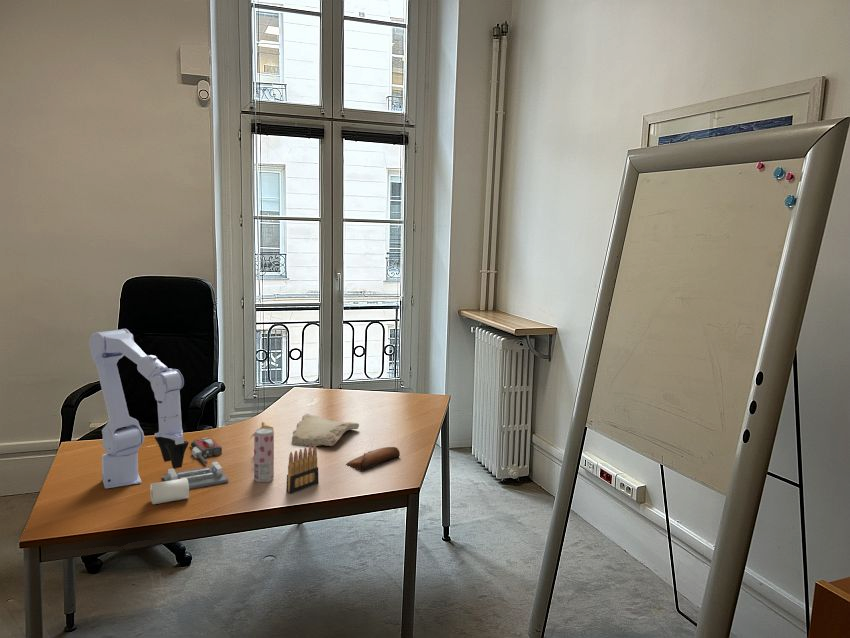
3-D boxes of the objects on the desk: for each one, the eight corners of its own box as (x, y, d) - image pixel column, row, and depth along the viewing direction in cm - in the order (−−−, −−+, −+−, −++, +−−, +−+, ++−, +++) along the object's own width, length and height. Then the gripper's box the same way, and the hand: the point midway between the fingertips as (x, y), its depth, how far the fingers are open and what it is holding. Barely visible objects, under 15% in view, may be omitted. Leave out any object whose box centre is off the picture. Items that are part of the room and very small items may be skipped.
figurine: (268, 451, 211) (268, 417, 210) (277, 456, 207) (278, 421, 206) (245, 457, 206) (245, 421, 204) (255, 462, 201) (255, 426, 200)
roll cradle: (170, 492, 177) (170, 480, 176) (162, 477, 187) (162, 466, 186) (228, 482, 185) (228, 471, 185) (217, 468, 195) (217, 457, 195)
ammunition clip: (290, 494, 179) (290, 453, 177) (286, 492, 180) (286, 451, 178) (318, 483, 187) (319, 444, 186) (314, 481, 188) (315, 442, 187)
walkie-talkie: (184, 448, 213) (202, 467, 197) (184, 435, 212) (202, 454, 196) (210, 444, 218) (230, 462, 202) (210, 431, 217) (230, 449, 201)
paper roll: (153, 508, 167) (153, 488, 166) (150, 499, 172) (150, 480, 171) (189, 501, 172) (189, 482, 171) (185, 493, 177) (185, 474, 176)
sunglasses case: (381, 450, 216) (389, 437, 213) (394, 465, 213) (402, 451, 210) (343, 465, 202) (351, 450, 199) (356, 480, 199) (365, 466, 196)
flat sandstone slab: (282, 446, 221) (334, 448, 215) (280, 425, 220) (333, 427, 214) (314, 428, 244) (362, 430, 238) (313, 409, 243) (361, 410, 237)
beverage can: (276, 475, 191) (276, 428, 189) (270, 483, 186) (270, 434, 184) (257, 474, 192) (257, 427, 190) (251, 482, 186) (251, 433, 184)
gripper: (146, 413, 173) (149, 461, 175) (162, 423, 162) (166, 474, 163) (172, 408, 178) (175, 455, 179) (190, 418, 166) (193, 468, 168)
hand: (172, 464), depth 171 cm, fingers open, 7 cm apart
